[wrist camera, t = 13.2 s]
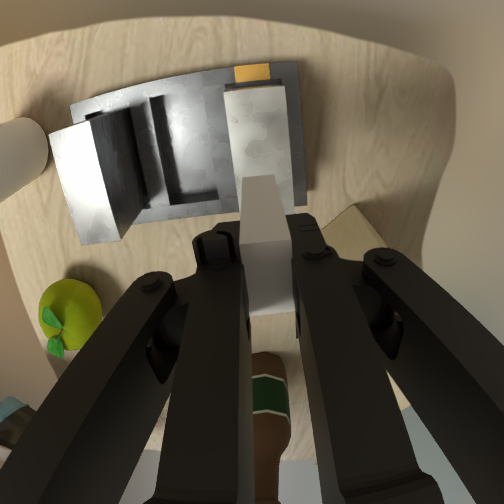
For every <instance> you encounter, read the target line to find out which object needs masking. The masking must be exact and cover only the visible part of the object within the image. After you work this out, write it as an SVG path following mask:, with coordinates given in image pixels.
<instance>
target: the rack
mask: <svg viewBox="0 0 504 504" xmlns="http://www.w3.org/2000/svg"><path fill="white" fill-rule="evenodd" d="M268 84H277V85H282V86H285V96H286V106H287V117H288V128H289V140H290V153H291V166H292V180H293V195H294V206H305V205H307V188H306V169H305V152H304V137H303V123H302V110H301V98H300V87H299V76H298V66H297V62H279V63H264V64H253V65H244V66H235V67H228V68H221V69H214V70H208V71H201V72H195V73H190V74H184V75H179V76H174V77H169V78H165V79H160V80H156V81H151V82H147V83H143V84H139V85H135V86H131V87H127V88H124V89H120V90H116V91H113V92H109V93H106V94H103V95H99V96H96V97H93V98H90V99H87V100H84V101H81V102H78V103H75V104H72V105H70V109H71V114H72V119H73V125H71V126H68V127H65V128H63V129H60V130H58V131H55V132H53V133H50V134H48V135H49V139H50V144H51V148H52V152H53V156H54V160H55V163H56V167H57V171H58V174H59V178H60V181H61V185H62V188H63V192H64V195H65V198H66V201H67V204H68V208H69V211H70V214H71V217H72V220H73V223H74V225H75V228H76V231H77V234H78V237H79V240H80V242H81V245H89V244H97V243H104V242H112V241H120V240H121V239H122V238H123V236H124V235H125V233H126V232H127V231H128V229H129V228H130V226H131V225H134V224H141V223H149V222H156V221H164V220H172V219H180V218H188V217H197V216H205V215H214V214H223V213H232V212H240V211H239V204H238V196H237V189H236V182H235V175H234V167H233V160H232V153H231V145H230V138H229V131H228V123H227V116H226V108H225V101H224V93H223V92H225V91H227V90H229V89H232V88H238V87H247V86H257V85H268Z"/></svg>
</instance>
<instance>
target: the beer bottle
mask: <svg viewBox="0 0 504 504" xmlns="http://www.w3.org/2000/svg"><path fill="white" fill-rule="evenodd" d="M252 395H253V439H254V481H255V504H281V503H280V502H279V501H278V484H279V483H278V482H279V463H280V457H281V455H282V453H283V452H284V451H285V449H286V448H287V446H288V444H289V441H290V438H291V420H290V409H289V398H288V387H287V377H286V371H285V367H284V365H283V362H282V360H281V358H280V357H278V356H275V355H272V354H269V353H266V352H262V353H257V354H252Z"/></svg>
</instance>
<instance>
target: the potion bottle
mask: <svg viewBox="0 0 504 504" xmlns="http://www.w3.org/2000/svg"><path fill="white" fill-rule="evenodd" d="M47 159H48V142H47V139H46V136H45V133H44V131H43V130H42V128H41V127H40V125H39V124H38V123H36V122H35V121H34V120H32V119H30V118H25V117H21V118H17V119H13V120H10V121H8V122H5V123H2V124H0V203H1V202H2V201H4V200H5V199H7V198H8V197H9V196H11V195H12V194H14V193H15V192H17V191H18V190H19V189H21V188H22V187H24V186H25V185H27V184H28V183H30V182H31V181H33V180H35V179H36V178H38V176H39V175H40V174H41V173H42V172H43V170H44V168H45V165H46V163H47Z"/></svg>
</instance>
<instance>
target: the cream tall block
mask: <svg viewBox="0 0 504 504" xmlns="http://www.w3.org/2000/svg"><path fill="white" fill-rule="evenodd" d="M321 233H322V235H323V237H324V240H325V242H326V244H327V245H329V246H331V247H333V248H334V249H335V250H336V251H337V254H338V256H339V258H343V259H347V260H356V261H363V258H364V254H365V253H366V252H367V251H368V250H371V249H373V248H379V247H384V248H385V247H387V248H388V246H387V245H386V243H385V242H384V241H383V239H382V238H381V236H380V235H379V234H378V233H377V231H376V230H375V229H374V228H373V226H372V225H371V224H370V223H369V222H368V220H367V219H366V218H365V217H364V216H363V214H362V213H361V212H360V211H359V210H358V208H357V207H356V206H355V205H352V206H350V207H349V208H348V209H346V210H345V211H344V212H343V213H342V214H340V215H339V216H338V217H337V218H335V219H334V220H333V221H332V222H331V223H329V224H328V225H327V226H326V227H325V228H323V229H322V230H321ZM386 371H387V370H386ZM387 374H388V377H389V379H390V382H391V385H392V388H393V391H394V393H395V396H396V399H397V402H398V405H399V408H400V411H401V410H402V409H404V408H406V407H408V406H410V405H411V404H410V403H409V402H408V400H407V399H406V397H405V396H404V394H403V393H402V392H401V390H400V389H399V387H398V386H397V385H396V383H395V382H394V380H393V379H392V377H391V376H390V375H389V373H388V372H387Z"/></svg>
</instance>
